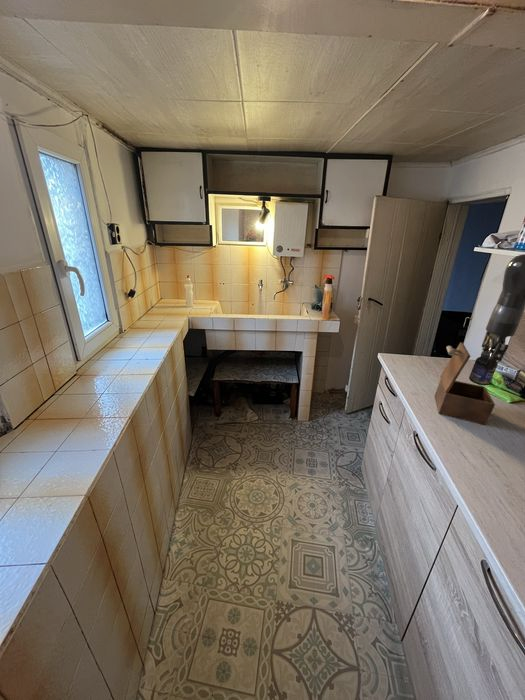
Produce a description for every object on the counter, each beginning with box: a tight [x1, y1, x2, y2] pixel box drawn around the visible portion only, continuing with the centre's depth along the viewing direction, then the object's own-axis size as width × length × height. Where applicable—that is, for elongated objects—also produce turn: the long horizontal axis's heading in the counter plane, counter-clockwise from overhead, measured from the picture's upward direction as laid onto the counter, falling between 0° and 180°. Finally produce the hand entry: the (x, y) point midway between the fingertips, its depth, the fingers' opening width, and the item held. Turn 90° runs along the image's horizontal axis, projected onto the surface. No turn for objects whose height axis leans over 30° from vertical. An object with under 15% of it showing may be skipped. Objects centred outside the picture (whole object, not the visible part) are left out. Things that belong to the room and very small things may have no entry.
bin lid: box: [440, 341, 471, 393], centre depth 102 cm, size 15×13×5 cm
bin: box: [434, 378, 496, 426], centre depth 105 cm, size 15×13×9 cm
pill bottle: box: [468, 350, 499, 387], centre depth 98 cm, size 6×6×11 cm
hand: (485, 365), depth 97 cm, fingers closed on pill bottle, 6 cm apart
